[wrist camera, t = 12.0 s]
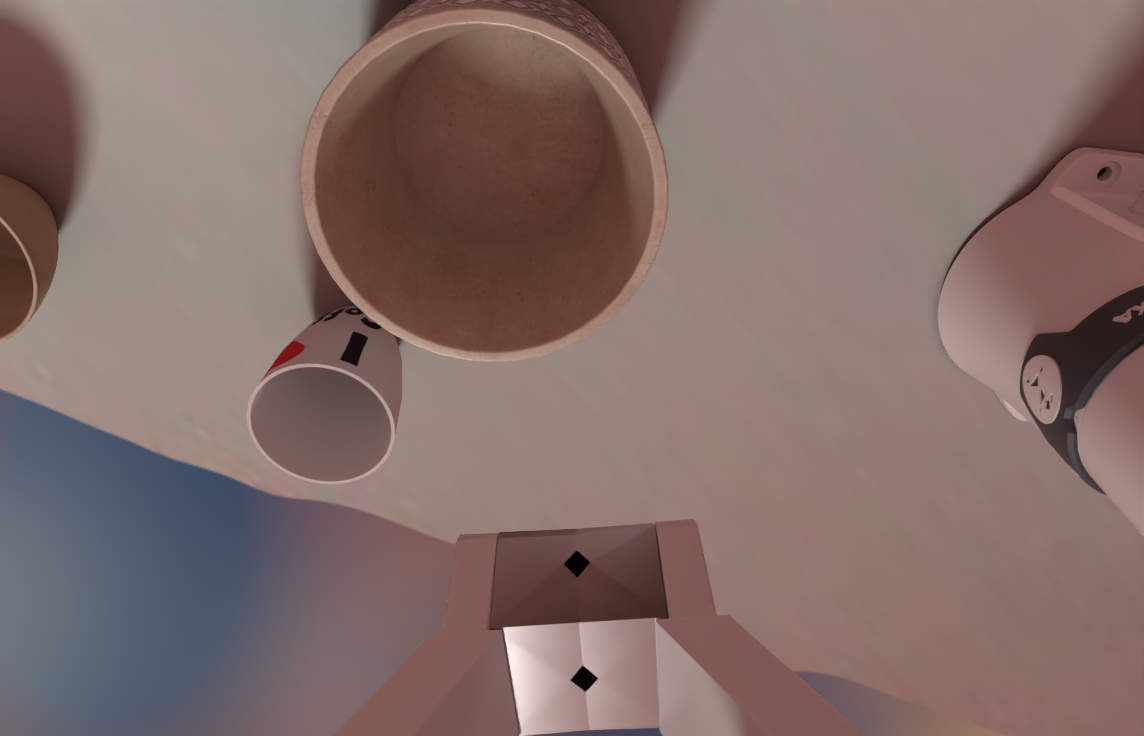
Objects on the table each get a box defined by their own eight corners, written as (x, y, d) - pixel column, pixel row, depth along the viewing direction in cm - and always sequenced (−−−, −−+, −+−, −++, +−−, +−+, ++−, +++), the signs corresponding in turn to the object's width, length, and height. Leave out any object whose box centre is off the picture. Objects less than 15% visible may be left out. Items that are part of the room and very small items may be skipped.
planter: (332, 214, 51) (272, 308, 40) (393, -74, 43) (339, -56, 33) (588, 292, 54) (596, 399, 43) (688, 35, 46) (728, 86, 35)
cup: (405, 278, 53) (377, 356, 45) (430, 386, 58) (408, 477, 49) (280, 291, 54) (227, 371, 45) (313, 398, 58) (270, 490, 49)
